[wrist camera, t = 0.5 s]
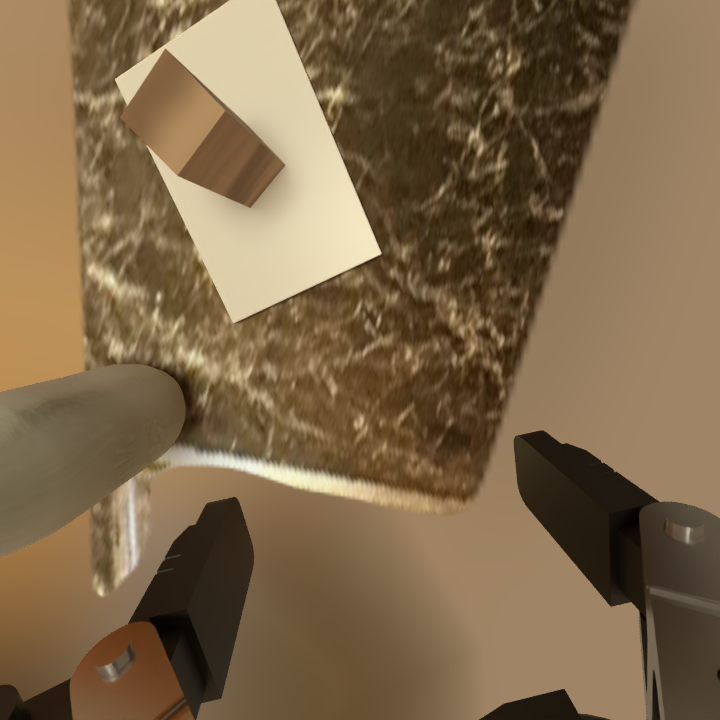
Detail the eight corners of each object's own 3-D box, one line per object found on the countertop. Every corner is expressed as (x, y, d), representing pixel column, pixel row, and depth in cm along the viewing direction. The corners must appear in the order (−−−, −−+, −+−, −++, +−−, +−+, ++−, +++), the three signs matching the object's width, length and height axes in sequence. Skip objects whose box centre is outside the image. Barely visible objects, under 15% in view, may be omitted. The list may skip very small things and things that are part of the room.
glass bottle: (195, 454, 42) (-210, 774, 15) (112, 422, 42) (-419, 673, 15) (214, 373, 39) (-225, 578, 12) (126, 341, 40) (-473, 468, 13)
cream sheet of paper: (121, 83, 35) (114, 79, 34) (269, -17, 31) (265, -25, 31) (237, 322, 38) (233, 323, 37) (382, 254, 35) (381, 253, 34)
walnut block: (285, 164, 33) (225, 110, 23) (250, 208, 35) (177, 175, 24) (245, 122, 33) (165, 48, 22) (211, 167, 34) (120, 117, 24)
